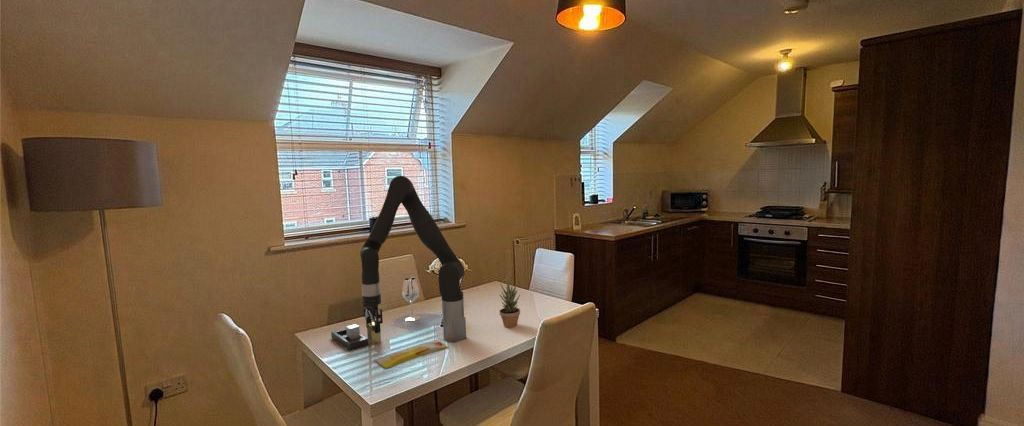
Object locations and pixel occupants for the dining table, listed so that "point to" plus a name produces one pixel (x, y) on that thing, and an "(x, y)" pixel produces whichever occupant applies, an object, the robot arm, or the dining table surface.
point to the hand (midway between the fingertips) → (373, 330)
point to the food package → (410, 353)
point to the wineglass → (410, 295)
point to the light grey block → (353, 332)
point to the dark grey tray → (352, 345)
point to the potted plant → (509, 307)
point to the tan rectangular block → (373, 334)
